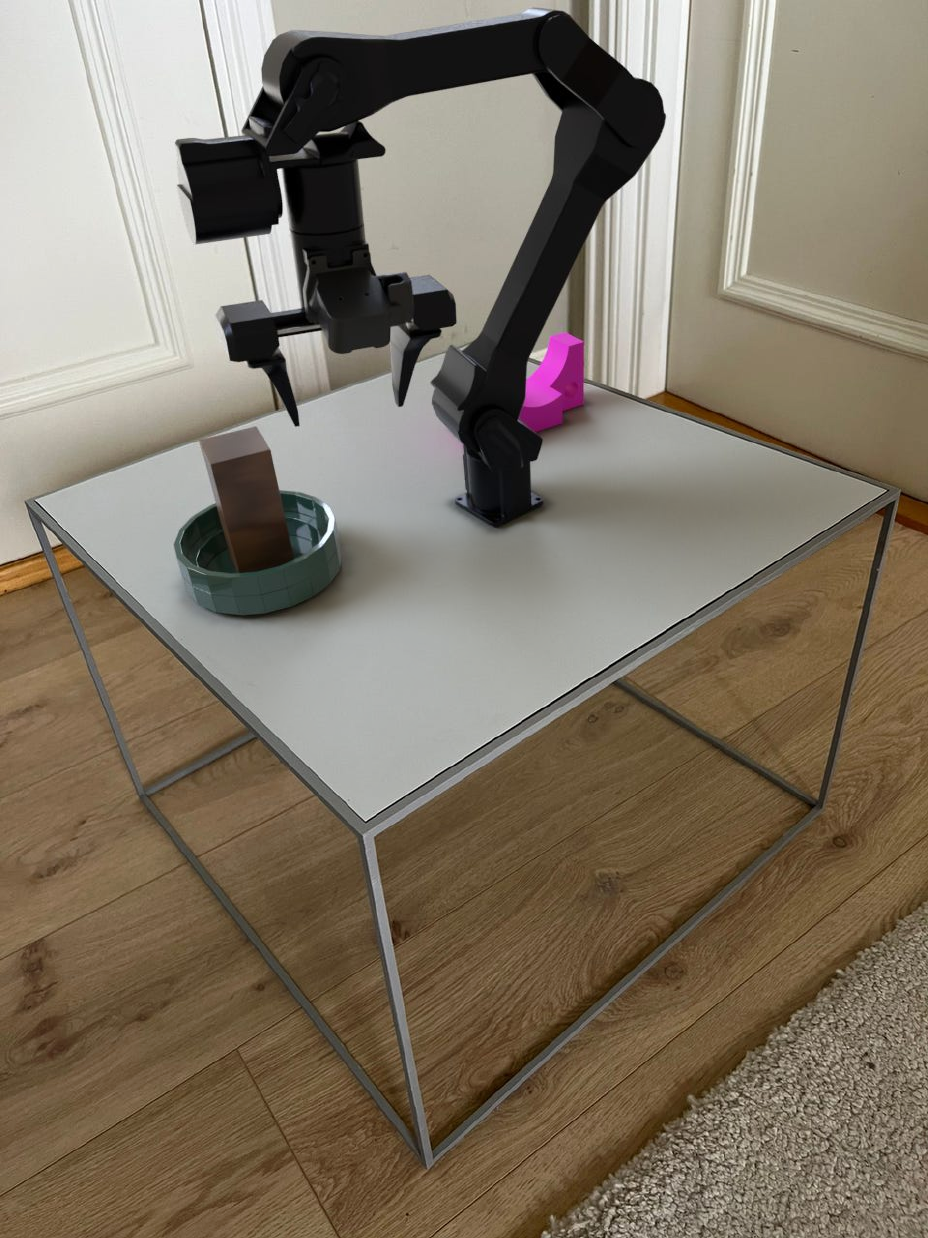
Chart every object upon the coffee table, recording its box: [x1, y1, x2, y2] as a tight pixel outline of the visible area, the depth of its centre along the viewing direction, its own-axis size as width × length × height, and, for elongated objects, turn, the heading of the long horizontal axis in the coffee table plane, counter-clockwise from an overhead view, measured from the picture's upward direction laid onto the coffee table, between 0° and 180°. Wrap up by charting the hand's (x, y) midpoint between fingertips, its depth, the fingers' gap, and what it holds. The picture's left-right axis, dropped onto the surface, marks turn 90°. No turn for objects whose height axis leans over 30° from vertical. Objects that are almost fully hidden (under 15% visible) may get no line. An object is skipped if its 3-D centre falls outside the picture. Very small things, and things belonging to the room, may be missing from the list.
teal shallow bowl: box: [173, 489, 343, 616], centre depth 85 cm, size 14×14×4 cm
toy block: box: [519, 331, 585, 433], centre depth 105 cm, size 15×6×8 cm, turn 120°
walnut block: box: [198, 426, 294, 573], centre depth 83 cm, size 5×5×12 cm
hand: (348, 414), depth 81 cm, fingers open, 9 cm apart
